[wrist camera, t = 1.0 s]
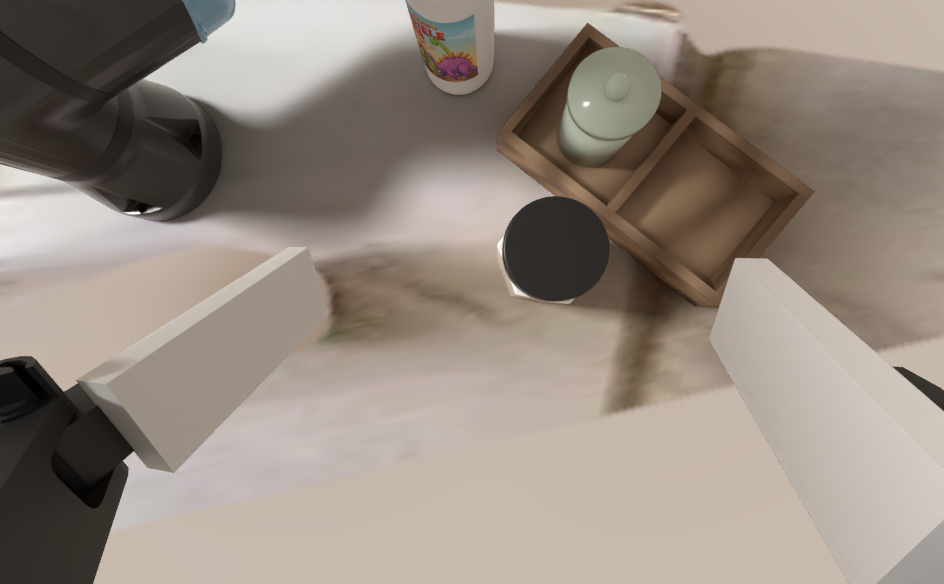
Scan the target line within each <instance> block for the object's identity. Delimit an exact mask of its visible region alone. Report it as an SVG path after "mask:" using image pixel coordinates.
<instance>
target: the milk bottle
mask: <svg viewBox="0 0 944 584" xmlns="http://www.w3.org/2000/svg"><path fill="white" fill-rule="evenodd" d="M406 4H407V7H408V11H409V14H410V18H411V21H412V25H413V28H414V32H415V35H416V38H417V42H418V45H419V48H420V52H421V55H422V58H423V62H424V65H425V68H426V71H427V74H428V76H429V78H430V80H431V81H432V82H433V84H434V85H435V86H437V87H438V88H439V89H441V90H442V91H444V92H446V93H449V94H454V95H464V94H468V93H471V92H473V91H475V90H477V89H478V88H480V87H481V86H482V85H483V84H484V83H485V82H486V81H487V79H488V78H489V76H490V74H491V72H492V69H493V65H494V0H406Z"/></svg>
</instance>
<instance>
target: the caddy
mask: <svg viewBox="0 0 944 584" xmlns="http://www.w3.org/2000/svg"><path fill="white" fill-rule="evenodd" d="M610 47H619V46H618V45H617V44H615V43H614V42H613V41H611V40H610V39H609V38H607V37H606V36H605V35H603V34H602V33H601V32H599V31H598V30H597V29H595V28H594V27H592V26H591V25H590V24H588V23H587V24H586V25H585V27H584V28H583V29H582V30H581V32H580V33H579V34H578V35H577V36H576V38H575V39H574V40H573V41H572V43H571V44H570V45H569V46H568V47H567V49H566V50H565V51H564V52H563V54H562V55H561V56H560V57H559V58H558V60H557V61H556V62H555V63H554V65H553V66H552V67H551V68H550V69H549V71H548V72H547V73H546V74H545V76H544V77H543V78H542V79H541V80H540V82H539V83H538V84H537V85H536V87H535V88H534V89H533V90H532V91H531V93H530V94H529V95H528V96H527V98H526V99H525V100H524V101H523V102H522V104H521V105H520V106H519V107H518V108H517V110H516V111H515V112H514V113H513V115H512V116H511V117H510V118H509V119H508V121H507V122H506V123H505V124H504V126H503V127H502V128H501V129H500V130H499V132H498V133H497V150H498V151H499V152H500V153H501V154H503V155H504V156H505V157H506V158H508V159H509V160H510V161H512V162H513V163H514V164H515V165H517V166H518V167H519V168H520V169H522V170H523V171H524V172H525V173H527V174H528V175H529V176H531V177H532V178H533V179H534V180H536V181H537V182H538V183H539V184H541V185H542V186H543V187H544V188H546V189H547V190H548V191H550V192H551V193H552V194H553V195H555V196H560V197H567V198H571V199H574V200H577V201H579V202H581V203H583V204H585V205H586V206H588V207H589V208H590V209H592V210H593V211H594V212H595V213H596V215H597V216H598V217H599V218H600V220H601V221H602V223H603V225H604V227H605V229H606V232H607V235H608V238H609V239H610V240H612V241H613V242H614V243H615V244H617V245H618V246H619V247H620V248H622V249H623V250H624V251H626V252H627V253H628V254H629V255H631V256H632V257H633V258H634V259H636V260H637V261H638V262H639V263H641V264H642V265H643V266H645V267H646V268H647V269H648V270H650V271H651V272H652V273H653V274H655V275H656V276H657V277H659V278H660V279H661V280H662V281H664V282H665V283H666V284H667V285H669V286H670V287H671V288H672V289H674V290H675V291H676V292H678V293H679V294H680V295H681V296H683V297H684V298H685V299H686V300H688V301H689V302H690V303H691V304H693V305H694V306H719V304H720V303H721V300H722V297H723V294H724V291H725V288H726V285H727V282H728V279H729V276H730V272H731V269H732V266H733V263H734V260H735V258H759V257H760V256H761V255H762V253H763V252H764V251H765V250H766V249H767V248H768V246H769V245H770V244H771V243H772V242H773V240H774V239H775V238H776V237H777V236H778V235H779V233H780V232H781V231H782V230H783V229H784V227H785V226H786V225H787V224H788V223H789V221H790V220H791V219H792V218H793V217H794V216H795V214H796V213H797V212H798V211H799V210H800V208H801V207H802V206H803V205H804V204H805V203H806V201H807V200H808V199H809V198H810V197H811V195H812V194H813V193H814V192H815V191H813V190H812V189H811V188H809V187H808V186H807V185H805V184H804V183H803V182H801V181H800V180H799V179H797V178H796V177H794V176H793V175H792V174H790V173H789V172H788V171H786V170H785V169H784V168H782V167H781V166H780V165H778V164H777V163H776V162H774V161H773V160H772V159H770V158H769V157H768V156H766V155H765V154H764V153H762V152H761V151H759V150H758V149H757V148H755V147H754V146H753V145H751V144H750V143H749V142H747V141H746V140H745V139H743V138H742V137H741V136H739V135H738V134H737V133H735V132H734V131H733V130H731V129H730V128H728V127H727V126H726V125H724V124H723V123H722V122H720V121H719V120H718V119H716V118H715V117H714V116H712V115H711V114H710V113H708V112H707V111H706V110H704V109H703V108H702V107H700V106H699V105H698V104H696V103H695V102H693V101H692V100H691V99H689V98H688V97H687V96H685V95H684V94H683V93H681V92H680V91H679V90H677V89H676V88H675V87H673V86H672V85H671V84H669V83H668V82H667V81H665V80H664V79H662V78H661V77H660V76H659V78H660V82H661V99H660V103H659V106H658V108H657V110H656V112H655V114H654V115H653V117H652V118H651V119H650V120H649V122H648V123H647V124H646V125H645V126H644V127H643V128H642V129H641V130H640V131H639V132H637V133H636V134H634V135H633V136H632V137H631V138H630V139H629V140H628V141H627V143H626V144H625V145H624V146H623V148H622V149H621V150H620V151H619V152H618V154H617V155H616V156H615V157H614V158H613V159H612V160H611V161H609V162H608V163H606V164H604V165H601V166H598V167H592V168H587V167H581V166H578V165H575V164H573V163H572V162H570V161H569V160H568V159H566V158H565V156H564V155H563V154H562V152H561V151H560V149H559V146H558V143H557V129H558V125H559V123H560V120H561V117H562V114H563V111H564V108H565V106H566V103H567V91H568V87H569V84H570V81H571V78H572V76H573V74H574V72H575V70H576V68H577V67H578V66H579V64H580V63H581V62H582V61H583V60H584V59H585V58H587V57H588V56H589V55H591V54H592V53H594V52H596V51H598V50H601V49H605V48H610Z"/></svg>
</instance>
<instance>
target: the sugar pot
mask: <svg viewBox="0 0 944 584" xmlns="http://www.w3.org/2000/svg"><path fill="white" fill-rule="evenodd" d="M660 99H661V82H660V78H659V75H658V73H657V71H656V69H655V67H654V66H653V64H652V63H651V62H650V61H649V60H648V59H647V58H646V57H645V56H643V55H642V54H640V53H638V52H636V51H634V50H631V49H628V48H623V47H610V48H605V49H601V50H598V51H596V52H594V53H592V54H591V55H589V56H588V57H587V58H585V59H584V60H583V61H582V62H581V63H580V64H579V66H578V67H577V68H576V70H575V72H574V74H573V76H572V78H571V81H570V84H569V87H568V91H567V103H566V106H565V108H564V111H563V114H562V117H561V120H560V123H559V125H558V129H557V143H558V146H559V149H560V151H561V152H562V154H563V155H564V156H565V158H566V159H568V160H569V161H570V162H572V163H573V164H575V165H578V166H581V167H587V168H592V167H598V166H601V165H604V164H606V163H608V162H609V161H611V160H612V159H613V158H614V157H615V156H616V155H617V154H618V152H619V151H620V150H621V149H622V148H623V146H624V145H625V144H626V143H627V141H628V140H629V139H630V138H631V137H632V136H633V135H634V134H636V133H637V132H639V131H640V130H641V129H642V128H643V127H644V126H645V125H646V124H647V123H648V122H649V120H650V119H651V118H652V117H653V115H654V114H655V112H656V110H657V108H658V106H659V103H660Z"/></svg>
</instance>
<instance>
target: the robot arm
mask: <svg viewBox="0 0 944 584" xmlns="http://www.w3.org/2000/svg"><path fill="white" fill-rule="evenodd" d="M234 12H235V0H0V164H2V165H6V166H10V167H13V168H17V169H21V170H25V171H28V172H32V173H36V174H40V175H44V176H47V177H51V178H54V179H58V180H61V181H65V182H66V183H68V184H70V185H71V186H73V187H75V188H77V189H78V190H80V191H82V192H83V193H85V194H87V195H89V196H90V197H92V198H94V199H95V200H97V201H99V202H100V203H102V204H104V205H106V206H107V207H109V208H111V209H113V210H115V211H117V212H120V213H122V214H125V215H129V216H133V217H137V218H141V219H146V220H152V221H163V220H169V219H173V218H177V217H179V216H182V215H184V214H186V213H188V212H189V211H191V210H192V209H194V208H195V207H196V206H197V205H199V204H200V203H201V202H202V201H203V200H204V199H205V197H206V196H207V195H208V193H209V192H210V190H211V189H212V187H213V185H214V183H215V181H216V179H217V176H218V173H219V169H220V163H221V144H220V139H219V135H218V132H217V129H216V127H215V125H214V123H213V121H212V120H211V118H210V117H209V115H208V114H207V113H206V112H205V111H204V110H203V109H202V108H201V107H200V106H199V105H197V104H196V103H195V102H193V101H192V100H190V99H188V98H187V97H185V96H184V95H182V94H181V93H179V92H178V91H176V90H174V89H172V88H169V87H167V86H164V85H161V84H158V83H154V82H151V81H147V80H144V79H143V78H145V77H146V76H148V75H149V74H151V73H152V72H154V71H156V70H157V69H159V68H160V67H162V66H163V65H165V64H166V63H168V62H170V61H171V60H173V59H174V58H176V57H177V56H179V55H180V54H182V53H184V52H185V51H187V50H188V49H190V48H191V47H193V46H194V45H196V44H198V43H199V42H201V43H205V42H206V41H207V36H209V35H210V34H211V33H213V32H214V31H215V30H217V29H218V28H219V27H221V26H222V25H223V24H225V23H226V22H227V21H229V20H230V19H231V18H232V16H233V14H234ZM328 314H329V313H328V310H327V307H326V303H325V300H324V297H323V294H322V291H321V287H320V284H319V281H318V278H317V275H316V271H315V268H314V265H313V262H312V258H311V255H310V252H309V249H308V247H288V248H286V249H285V250H283V251H282V252H280V253H278V254H277V255H275V256H274V257H272V258H270V259H269V260H267V261H266V262H264V263H262V264H261V265H259V266H258V267H256V268H254V269H253V270H251V271H250V272H248V273H246V274H245V275H243V276H242V277H240V278H238V279H237V280H235V281H234V282H232V283H230V284H229V285H227V286H226V287H224V288H222V289H221V290H219V291H218V292H216V293H214V294H213V295H211V296H210V297H208V298H207V299H205V300H204V301H202V302H200V303H198V304H197V305H195V306H194V307H192V308H190V309H189V310H187V311H186V312H184V313H182V314H181V315H179V316H178V317H176V318H175V319H173V320H171V321H170V322H168V323H167V324H165V325H163V326H162V327H160V328H159V329H157V330H155V331H154V332H152V333H151V334H149V335H147V336H146V337H144V338H143V339H141V340H139V341H138V342H136V343H135V344H133V345H131V346H130V347H128V348H127V349H125V350H124V351H122V352H120V353H119V354H117V355H115V356H114V357H112V358H111V359H109V360H107V361H106V362H104V363H103V364H101V365H99V366H98V367H96V368H95V369H93V370H91V371H90V372H88V373H87V374H85V375H84V376H82V377H81V378H79V379H77V380H76V381H77V382H78V384H76V385H75V386H73V387H71V388H70V389H68V390H67V391H65V392H63V391H62V390H61V388H60V387H59V386H58V385H57V384H56V383H55V381H54V380H53V379H52V378H51V377H50V376H49V374H48V373H47V372H46V371H45V370H44V369H43V368H42V366H41V365H40V364H39V363H38V362H37V360H36V359H34V358H33V357H31V356H20V357H15V358H9V359H4V360H1V361H0V584H93V582H94V578H95V576H96V572H97V570H98V566H99V563H100V560H101V557H102V554H103V551H104V548H105V544H106V542H107V539H108V536H109V533H110V529H111V526H112V523H113V520H114V517H115V514H116V511H117V508H118V505H119V502H120V499H121V496H122V492H123V489H124V486H125V483H126V480H127V477H128V467H127V465H126V464H125V463H124V462H123V460H124V459H125V458H126V457H127V456H129V455H130V454H131V453H132V452H133V451H134V452H135V453H136V454H137V456H138V457H139V458H140V459H141V460H142V462H143V463H144V464H145V465H146V467H147V468H151V469H157V470H162V471H167V472H173V473H174V472H175V471H176V470H177V469H178V468H179V467H180V466H181V465H182V464H183V463H184V462H185V461H186V460H187V459H188V458H189V457H190V456H191V455H192V454H193V453H194V452H195V451H196V450H197V449H198V448H199V446H200V445H201V444H202V443H203V442H204V441H205V440H206V439H207V438H208V437H209V436H210V435H211V434H212V433H213V432H214V431H215V430H216V429H217V428H218V427H219V426H220V425H221V424H222V423H223V422H224V421H225V420H226V419H227V418H228V417H229V416H230V415H231V414H232V413H233V412H234V411H235V410H236V409H237V408H238V406H239V405H240V404H241V403H242V402H243V401H244V400H245V399H246V398H247V397H248V396H249V395H250V394H251V393H252V392H253V391H254V390H255V389H256V388H257V387H258V386H259V385H260V384H261V383H262V382H263V381H264V380H265V379H266V378H267V377H268V376H269V375H270V374H271V373H272V372H273V371H274V370H275V369H276V368H277V366H278V365H279V364H280V363H281V362H282V361H283V360H284V359H285V358H286V357H287V356H288V355H289V354H290V353H291V352H292V351H293V350H294V349H295V348H296V347H297V346H298V345H299V344H300V343H301V342H302V341H303V340H304V339H305V338H306V337H307V336H308V335H309V334H310V333H311V331H313V330H314V329H315V328H316V326H317V325H318V324H319V323H320V322H321V321H322V320H323V319H324V318H325V317H326V316H327V315H328ZM709 341H710V342H711V344H712V346H713V348H714V349H715V351H716V353H717V355H718V356H719V358H720V360H721V362H722V363H723V365H724V367H725V369H726V370H727V372H728V374H729V376H730V377H731V379H732V381H733V383H734V384H735V386H736V388H737V390H738V391H739V393H740V395H741V396H742V398H743V400H744V402H745V403H746V405H747V407H748V409H749V410H750V412H751V414H752V416H753V417H754V419H755V421H756V423H757V424H758V426H759V428H760V430H761V431H762V433H763V435H764V437H765V438H766V440H767V442H768V444H769V445H770V447H771V449H772V451H773V452H774V454H775V456H776V458H777V459H778V461H779V463H780V464H781V466H782V468H783V470H784V471H785V473H786V475H787V477H788V478H789V480H790V482H791V484H792V485H793V487H794V489H795V491H796V492H797V494H798V496H799V498H800V499H801V501H802V503H803V504H804V506H805V508H806V510H807V512H808V513H809V515H810V517H811V519H812V520H813V522H814V524H815V526H816V527H817V529H818V531H819V533H820V534H821V536H822V538H823V540H824V541H825V543H826V545H827V547H828V548H829V550H830V552H831V553H832V555H833V557H834V559H835V561H836V562H837V564H838V566H839V568H840V569H841V571H842V573H843V575H844V576H845V578H846V579H847V581H848V583H849V584H944V390H942V389H941V388H940V387H938V386H936V385H934V384H932V383H930V382H929V381H927V380H925V379H923V378H921V377H920V376H918V375H916V374H914V373H912V372H911V371H909V370H907V369H905V368H903V367H892V366H891V365H890V364H888V363H887V362H886V361H885V360H884V359H883V358H881V357H880V356H879V355H878V354H877V353H876V352H875V351H873V350H872V349H871V348H870V347H869V346H868V345H867V344H865V343H864V342H863V341H862V340H861V339H860V338H858V337H857V336H856V335H855V334H854V333H853V332H852V331H850V330H849V329H848V328H847V327H846V326H845V325H843V324H842V323H841V322H840V321H839V320H838V319H837V318H835V317H834V316H833V315H832V314H831V313H830V312H828V311H827V310H826V309H825V308H824V307H823V306H822V305H820V304H819V303H818V302H817V301H816V300H815V299H813V298H812V297H811V296H810V295H809V294H808V293H807V292H805V291H804V290H803V289H802V288H801V287H800V286H798V285H797V284H796V283H795V282H794V281H793V280H792V279H790V278H789V277H788V276H787V275H786V274H785V273H783V272H782V271H781V270H780V269H779V268H778V267H777V266H775V265H774V264H773V263H772V262H771V261H770V260H768V259H759V258H735V260H734V263H733V266H732V269H731V272H730V276H729V279H728V282H727V285H726V288H725V291H724V294H723V297H722V300H721V303H720V306H719V309H718V312H717V315H716V318H715V321H714V325H713V328H712V331H711V334H710V337H709Z"/></svg>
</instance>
